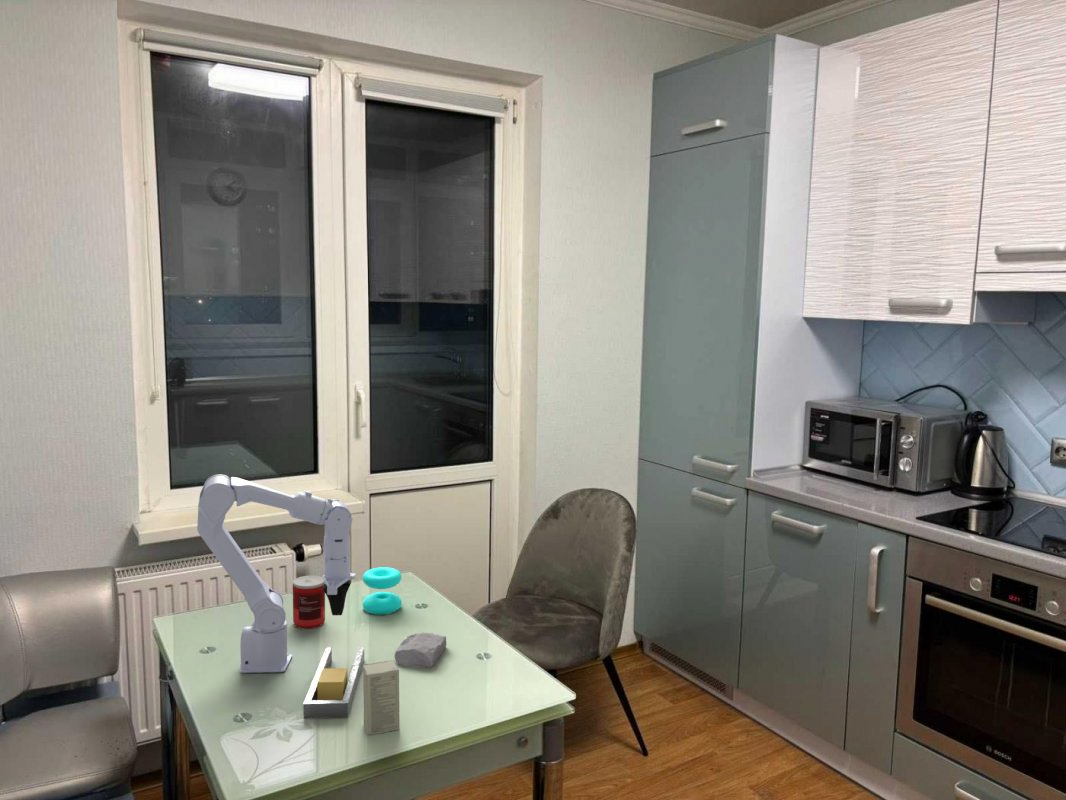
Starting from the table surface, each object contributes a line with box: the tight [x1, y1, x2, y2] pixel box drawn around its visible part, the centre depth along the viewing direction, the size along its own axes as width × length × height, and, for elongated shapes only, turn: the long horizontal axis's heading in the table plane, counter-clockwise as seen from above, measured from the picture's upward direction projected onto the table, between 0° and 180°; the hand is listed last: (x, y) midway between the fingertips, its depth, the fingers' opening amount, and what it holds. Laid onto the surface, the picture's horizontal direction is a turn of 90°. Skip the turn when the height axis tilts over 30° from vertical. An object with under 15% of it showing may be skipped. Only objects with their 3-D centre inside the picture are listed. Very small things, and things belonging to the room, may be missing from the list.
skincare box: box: [362, 659, 401, 736], centre depth 151 cm, size 6×4×12 cm
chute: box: [302, 646, 365, 719], centre depth 166 cm, size 8×25×3 cm, turn 5°
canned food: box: [292, 574, 326, 630], centre depth 198 cm, size 8×8×11 cm
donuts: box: [362, 566, 402, 615], centre depth 209 cm, size 10×10×10 cm
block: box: [317, 667, 348, 701], centre depth 162 cm, size 5×6×4 cm
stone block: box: [394, 632, 447, 669], centre depth 182 cm, size 12×5×10 cm
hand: (337, 614), depth 180 cm, fingers closed
